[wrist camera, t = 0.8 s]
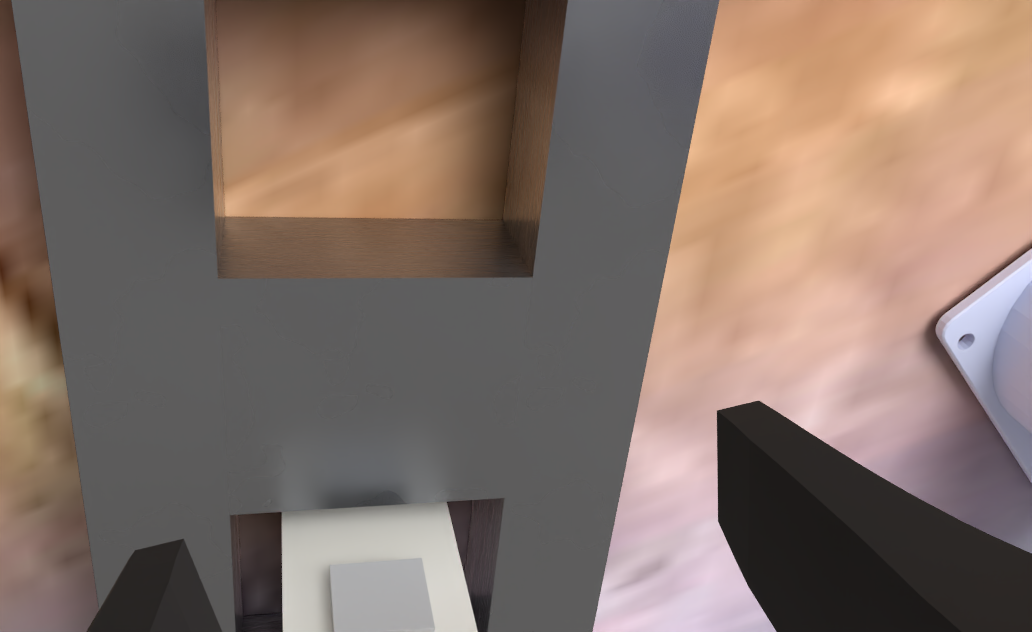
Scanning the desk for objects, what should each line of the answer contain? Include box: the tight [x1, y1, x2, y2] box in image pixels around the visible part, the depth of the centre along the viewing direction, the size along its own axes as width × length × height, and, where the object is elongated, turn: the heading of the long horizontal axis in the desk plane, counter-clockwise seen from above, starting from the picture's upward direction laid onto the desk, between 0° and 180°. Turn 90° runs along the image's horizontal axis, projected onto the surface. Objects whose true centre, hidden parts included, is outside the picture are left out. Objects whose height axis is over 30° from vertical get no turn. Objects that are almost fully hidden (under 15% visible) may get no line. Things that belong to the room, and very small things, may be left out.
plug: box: [282, 502, 478, 632], centre depth 22 cm, size 5×4×7 cm
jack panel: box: [11, 0, 719, 632], centre depth 21 cm, size 24×12×3 cm, turn 174°
